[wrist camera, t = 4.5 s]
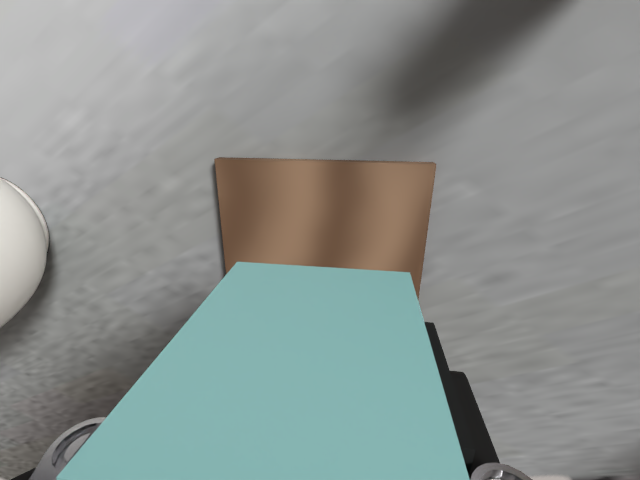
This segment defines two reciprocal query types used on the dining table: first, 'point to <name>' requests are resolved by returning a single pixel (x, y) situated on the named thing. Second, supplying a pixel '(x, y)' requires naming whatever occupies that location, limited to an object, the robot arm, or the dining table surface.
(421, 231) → the walnut board
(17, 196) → the lidded bowl
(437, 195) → the dining table surface
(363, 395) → the teal block
